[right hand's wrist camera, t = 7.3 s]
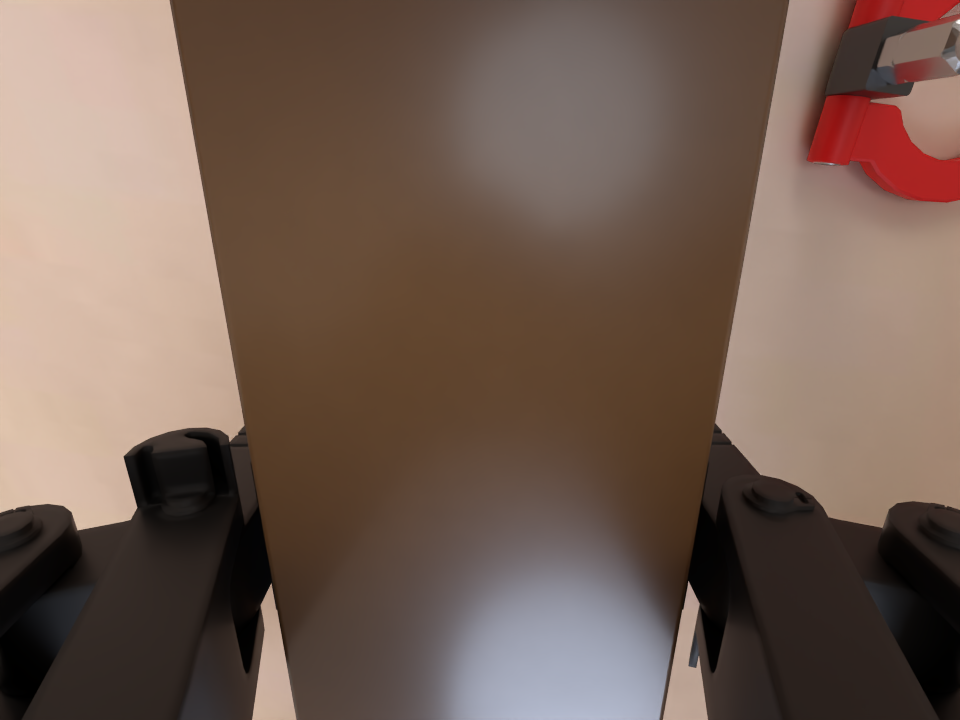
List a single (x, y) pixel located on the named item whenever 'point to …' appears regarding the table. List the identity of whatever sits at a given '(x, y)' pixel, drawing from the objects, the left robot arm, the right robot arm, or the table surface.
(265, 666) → the table surface
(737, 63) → the bar
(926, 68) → the tow hook
